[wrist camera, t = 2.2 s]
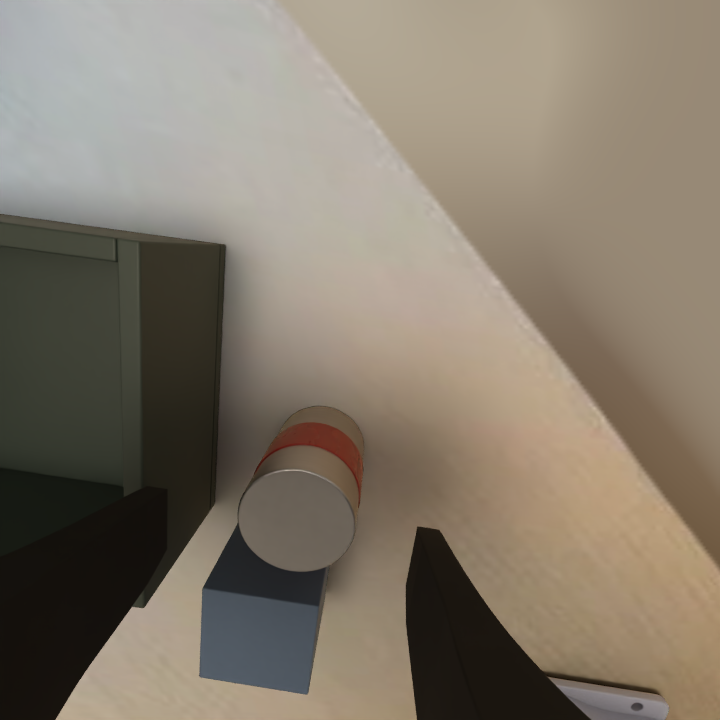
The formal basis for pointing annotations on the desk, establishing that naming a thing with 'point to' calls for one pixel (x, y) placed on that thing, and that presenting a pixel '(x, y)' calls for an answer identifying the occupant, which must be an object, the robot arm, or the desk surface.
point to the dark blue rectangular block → (260, 621)
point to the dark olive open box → (106, 377)
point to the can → (305, 492)
